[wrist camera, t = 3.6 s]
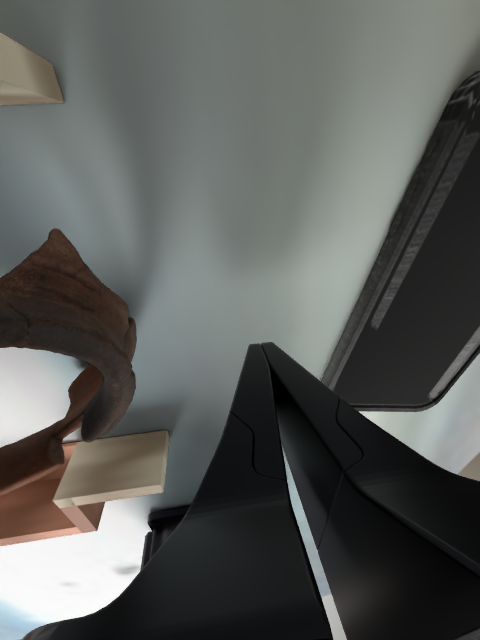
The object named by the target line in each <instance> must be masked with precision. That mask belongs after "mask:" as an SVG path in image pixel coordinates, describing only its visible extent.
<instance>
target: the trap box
mask: <svg viewBox="0 0 480 640" xmlns="http://www.w3.org/2000/svg"><path fill="white" fill-rule="evenodd" d="M50 103H64V99H63V96H62V93H61V90H60V87H59V83H58V80H57V77H56V74H55V71H54V67H53V64H52V63H50V62H49V61H47V60H45V59H44V58H42V57H40V56H39V55H37V54H35V53H34V52H32V51H30V50H29V49H27V48H25V47H24V46H22V45H20V44H19V43H17V42H15V41H14V40H12V39H10V38H9V37H7V36H5V35H4V34H2V33H0V105H20V104H50ZM169 439H170V438H169V435H168V431H167V430H163V431H156V432H148V433H141V434H134V435H126V436H119V437H111V438H104V439H96V440H94V441H92V442H90V443H86V442H84V441H82V442H74V443H67V444H62V447H63V449H64V455H65V462H64V464H63V465H62V466H60V467H59V468H58V469H56V470H54V471H53V472H51V473H49V474H47V475H46V476H43V477H41V478H40V479H37V480H35V481H33V482H31V483H29V484H27V485H25V486H22V487H20V488H18V489H16V490H13V491H11V492H8V493H7V494H4V495H1V496H0V546H5V545H11V544H18V543H24V542H30V541H36V540H42V539H48V538H55V537H61V536H67V535H73V534H79V533H86V532H92V531H97V530H98V526H99V522H100V519H101V515H102V511H103V508H104V504H105V501H111V500H117V499H124V498H130V497H137V496H144V495H150V494H157V493H163V492H164V485H165V476H166V466H167V457H168V448H169Z"/></svg>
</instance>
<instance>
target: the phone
mask: <svg viewBox="0 0 480 640" xmlns="http://www.w3.org/2000/svg"><path fill="white" fill-rule="evenodd" d="M479 353H480V71H477V72H475V73H474V74H472V75H471V76H470V77H468V78H467V79H466V80H464V81H463V83H462V84H461V85H460V86H459V87H458V88H457V90H456V91H455V92H454V93H453V95H452V97H451V98H450V100H449V102H448V104H447V105H446V107H445V109H444V112H443V114H442V116H441V118H440V120H439V123H438V125H437V127H436V129H435V131H434V134H433V136H432V138H431V140H430V142H429V145H428V147H427V149H426V151H425V153H424V156H423V158H422V160H421V162H420V164H419V167H418V169H417V171H416V173H415V175H414V178H413V180H412V182H411V184H410V186H409V189H408V191H407V193H406V195H405V198H404V200H403V202H402V204H401V206H400V209H399V211H398V213H397V215H396V217H395V220H394V222H393V224H392V226H391V228H390V231H389V233H388V235H387V237H386V239H385V242H384V244H383V246H382V248H381V250H380V253H379V255H378V257H377V259H376V261H375V264H374V266H373V268H372V270H371V272H370V275H369V277H368V279H367V281H366V283H365V286H364V288H363V290H362V292H361V294H360V297H359V299H358V301H357V303H356V305H355V308H354V310H353V312H352V314H351V316H350V319H349V321H348V323H347V325H346V327H345V330H344V332H343V334H342V336H341V338H340V341H339V343H338V345H337V347H336V349H335V352H334V354H333V356H332V358H331V360H330V363H329V365H328V367H327V369H326V371H325V374H324V376H323V378H322V380H321V382H322V383H323V384H324V385H326V386H327V387H328V388H329V389H331V390H332V391H333V392H334V393H336V394H337V395H338V396H339V397H340V399H343V400H344V401H345V402H347V403H348V404H349V405H350V406H352V407H353V408H354V409H356V410H357V411H385V412H419V411H424V410H427V409H429V408H431V407H433V406H434V405H436V404H437V403H438V402H439V401H440V400H441V399H442V398H443V397H444V396H445V395H446V393H447V392H448V391H449V390H450V388H451V387H452V386H453V385H454V384H455V382H456V381H457V380H458V379H459V377H460V376H461V375H462V374H463V373H464V371H465V370H466V369H467V368H468V366H469V365H470V364H471V363H472V361H473V360H474V359H475V358H476V357H477V355H478V354H479Z"/></svg>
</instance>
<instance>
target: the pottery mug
mask: <svg viewBox="0 0 480 640" xmlns="http://www.w3.org/2000/svg"><path fill="white" fill-rule="evenodd" d="M136 340H137V337H136V324H135V321H134V319H133V318H131V317H128V307H127V305H126V304H125V303H124V302H123V300H122V299H121V298H120V297H119V296H118V295H116V294H115V293H113V292H112V291H111V290H110V289H109V288H108V287H106V286H105V285H104V284H102V283H101V282H100V280H99V279H98V278H97V277H96V276H95V275H94V274H93V273H92V271H91V270H90V269H89V268H88V266H87V265H86V264H85V263H84V262H83V260H82V259H81V257H80V255H79V253H78V251H77V250H76V248H75V247H74V246H73V245H72V243H71V242H70V241H69V240H68V239H67V238H66V237H65V235H64V234H63V233H62V232H61V231H60V230H59V229H53V230H51V231H50V233H49V237H48V240H47V241H46V242H45V243H44V244H43V245H42V246H41V247H40V248H39V249H38V250H36V251H35V252H33V253H31V254H30V255H29V256H28V257H27V258H26V259H25V260H24V261H23V262H22V263H21V264H20V265H18V266H17V267H15V268H14V269H13V270H11V271H10V272H9V273H7V274H6V275H4V276H3V277H1V278H0V348H7V347H17V348H30V349H35V350H46V351H51V352H54V353H60V354H64V355H67V356H71V357H75V358H77V359H81V360H83V361H85V362H88V363H89V364H91V365H89V366H87V367H86V368H85V369H84V370H83V372H81V373H80V374H79V376H78V377H77V378H76V379H75V380H74V381H73V383H72V384H71V386H70V387H69V390H68V392H69V398H70V402H71V405H70V407H69V410H68V412H67V414H66V417H65V418H64V419H62V420H60V421H58V422H56V423H55V424H53V425H51V426H50V427H48V428H45V429H43V430H41V431H39V432H37V433H35V434H32V435H30V436H28V437H26V438H23V439H21V440H19V441H17V442H15V443H12V444H9V445H6V446H3V447H1V448H0V496H1V495H4V494H7V493H8V492H11V491H13V490H16V489H18V488H20V487H22V486H25V485H27V484H29V483H31V482H33V481H35V480H37V479H40V478H41V477H43V476H46V475H47V474H49V473H51V472H53V471H54V470H56V469H58V468H59V467H60V466H62V465H63V464H64V462H65V455H64V449H63V447H62V440H63V438H64V437H66V436H67V435H68V434H70V433H72V432H73V431H75V430H76V429H78V428H79V427H80V426H82V427H81V435H82V439H83V441H84V442H86V443H90V442H92V441H94V440H95V439H97V438H98V437H100V436H102V435H104V434H106V433H108V432H109V431H110V430H112V429H113V428H114V427H115V425H116V424H117V423H118V422H119V421H120V419H121V418H122V417H123V415H124V414H125V411H126V410H127V408H128V406H129V405H130V403H131V401H132V398H133V395H134V392H135V389H136V384H135V374H134V372H133V370H132V365H131V362H132V359H133V356H134V352H135V348H136Z"/></svg>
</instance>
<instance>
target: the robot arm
mask: <svg viewBox="0 0 480 640" xmlns="http://www.w3.org/2000/svg"><path fill="white" fill-rule="evenodd" d="M229 413H230V414H229V415H228V418H227V422H226V425H225V428H224V431H223V434H222V437H221V440H220V442H219V444H218V447H217V449H216V452H215V454H214V456H213V459H212V461H211V463H210V465H209V467H208V469H207V472H206V474H205V476H204V478H203V480H202V483H201V485H200V487H199V489H198V491H197V494H196V496H195V498H194V500H193V502H192V504H191V506H190V507H187V508H180V509H174V510H168V511H162V512H155V513H151V514H149V515H148V524H149V526H150V528H151V530H152V532H148V533H147V535H146V536H145V543H144V550H143V557H142V564H141V571H140V573H139V574H138V575H137V576H136V577H135V579H134V580H133V581H132V582H131V584H130V585H129V586H128V587H127V588H126V589H125V590H124V591H123V592H122V593H121V595H120V596H119V597H117V598H116V599H115V600H114V601H112V602H111V603H110V604H109V605H107V606H106V607H104V608H102V609H100V610H99V611H97V612H95V613H93V614H90V615H87V616H84V617H79V618H74V619H69V620H63V621H59V622H54V623H50V624H47V625H44V626H41V627H38V628H36V629H34V630H32V631H31V632H29V633H28V634H27V635H26V636H24V637H23V638H22V639H21V640H333V636H332V632H331V628H330V624H329V621H328V618H327V615H326V611H325V608H324V605H323V602H322V598H321V595H320V592H319V589H318V586H317V583H316V580H315V577H314V573H313V570H312V567H311V564H310V561H309V558H308V555H307V552H306V548H305V545H304V542H303V539H302V536H301V533H300V530H299V527H298V524H297V520H296V517H295V514H294V511H293V508H292V504H291V499H290V494H289V489H288V483H287V476H286V469H285V463H284V456H283V450H282V446H283V449H284V452H285V455H286V458H287V461H288V464H289V467H290V470H291V473H292V476H293V479H294V482H295V485H296V488H297V491H298V494H299V497H300V500H301V503H302V506H303V509H304V512H305V515H306V518H307V521H308V524H309V527H310V530H311V533H312V536H313V539H314V542H315V545H316V548H317V550H318V554H319V557H320V560H321V563H322V566H323V569H324V572H325V575H326V578H327V581H328V584H329V587H330V590H331V593H332V596H333V599H334V602H335V605H336V608H337V611H338V614H339V617H340V620H341V623H342V626H343V629H344V632H345V635H346V638H347V640H480V481H477V480H473V479H469V478H466V477H462V476H459V475H457V474H454V473H451V472H449V471H447V470H445V469H443V468H441V467H439V466H437V465H436V464H434V463H432V462H431V461H429V460H427V459H426V458H424V457H423V456H421V455H420V454H419V453H417V452H416V451H414V450H413V449H411V448H410V447H408V446H407V445H405V444H404V443H402V442H401V441H399V440H398V439H396V438H395V437H393V436H392V435H390V434H389V433H387V432H386V431H384V430H383V429H382V428H380V427H379V426H377V425H376V424H374V423H373V422H372V421H370V420H369V419H367V418H366V417H365V416H363V415H362V414H361V413H359V412H358V411H357V410H356V409H354V408H353V407H352V406H350V405H349V404H348V403H347V402H345V401H344V400H343V399H340V397H339V396H338V395H337V394H336V393H334V392H333V391H332V390H331V389H329V388H328V387H327V386H326V385H324V384H323V383H322V382H321V381H320V380H318V379H317V378H316V377H315V376H313V375H312V374H311V373H310V372H308V371H307V370H306V369H305V368H304V367H302V366H301V365H300V364H299V363H297V362H296V361H295V360H294V359H292V358H291V357H290V356H289V355H288V354H286V353H285V352H284V351H283V350H281V349H280V348H279V347H278V346H276V345H275V344H274V343H272V342H267V343H262V344H259V343H258V344H250V345H249V346H248V350H247V353H246V357H245V360H244V364H243V367H242V371H241V374H240V378H239V381H238V384H237V388H236V391H235V395H234V398H233V402H232V405H231V409H230V412H229ZM281 443H282V444H281Z"/></svg>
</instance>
